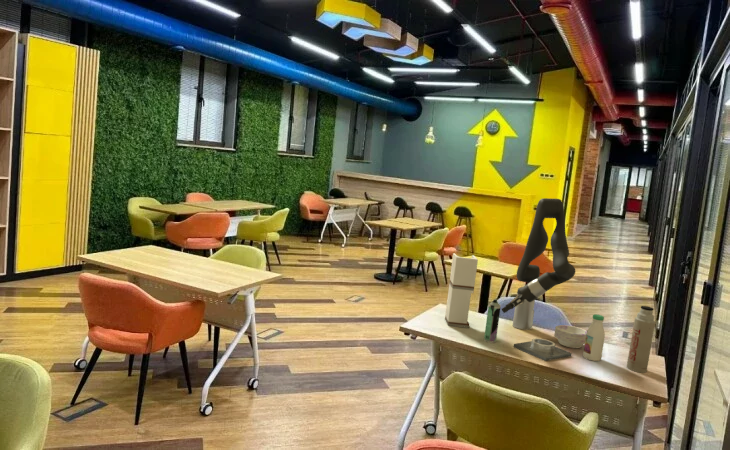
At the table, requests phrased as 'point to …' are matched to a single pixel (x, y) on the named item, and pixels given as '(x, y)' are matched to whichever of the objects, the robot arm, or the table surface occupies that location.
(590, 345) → the milk bottle
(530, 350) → the collar plate
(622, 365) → the table surface
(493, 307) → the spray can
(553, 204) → the robot arm
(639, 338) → the thermos bottle
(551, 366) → the table surface
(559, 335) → the paper bowls
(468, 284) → the banded white pillar
